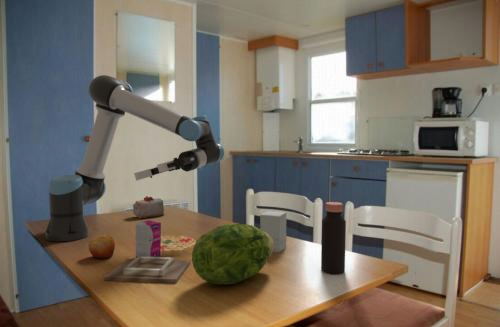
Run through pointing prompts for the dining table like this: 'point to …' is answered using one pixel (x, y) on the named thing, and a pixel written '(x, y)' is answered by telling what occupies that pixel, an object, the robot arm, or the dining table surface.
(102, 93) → the robot arm
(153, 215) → the food item
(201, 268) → the lettuce
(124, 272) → the socket board
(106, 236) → the fruit
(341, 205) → the bottle
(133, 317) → the dining table surface
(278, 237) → the supplement box
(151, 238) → the supplement box
